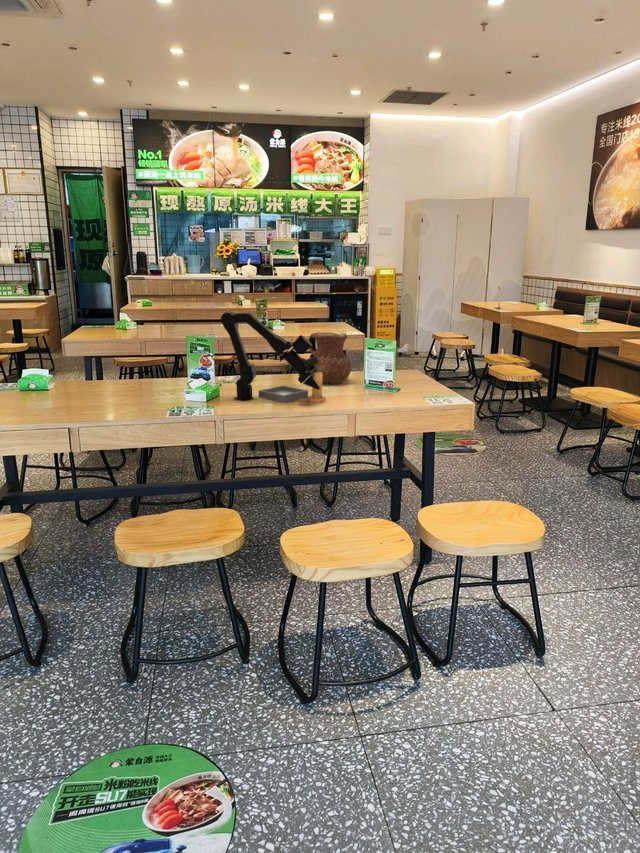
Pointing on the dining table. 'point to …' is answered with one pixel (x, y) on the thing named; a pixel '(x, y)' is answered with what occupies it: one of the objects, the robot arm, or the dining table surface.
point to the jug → (330, 357)
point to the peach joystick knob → (316, 393)
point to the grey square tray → (283, 393)
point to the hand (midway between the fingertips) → (320, 386)
